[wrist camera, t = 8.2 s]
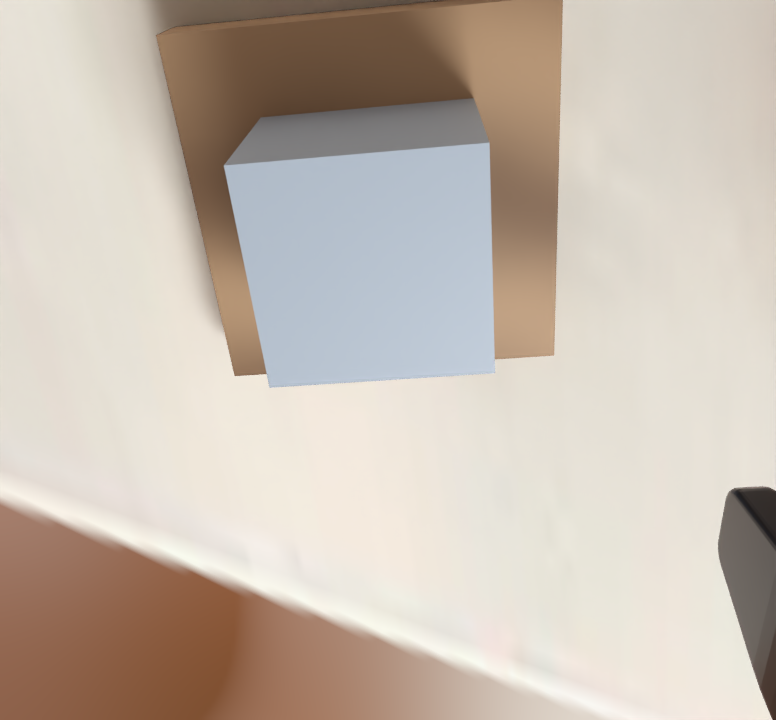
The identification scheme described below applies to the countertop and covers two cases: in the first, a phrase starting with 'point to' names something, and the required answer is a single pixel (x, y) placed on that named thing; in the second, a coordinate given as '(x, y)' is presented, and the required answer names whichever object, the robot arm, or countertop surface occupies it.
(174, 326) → the countertop surface
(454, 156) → the slate brick
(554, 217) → the base plate
